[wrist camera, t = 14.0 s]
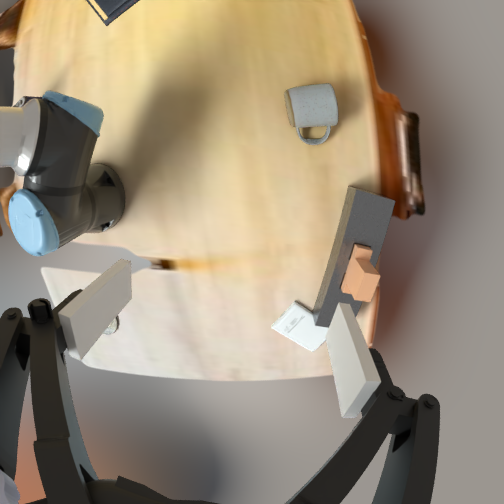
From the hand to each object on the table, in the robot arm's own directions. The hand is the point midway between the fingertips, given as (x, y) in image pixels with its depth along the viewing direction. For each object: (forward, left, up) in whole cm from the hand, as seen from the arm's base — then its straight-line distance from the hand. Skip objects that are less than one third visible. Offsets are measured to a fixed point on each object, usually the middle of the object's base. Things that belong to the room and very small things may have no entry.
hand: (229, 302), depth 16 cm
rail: (+20, -8, -37) cm, 43 cm away
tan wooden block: (+20, -8, -36) cm, 42 cm away
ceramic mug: (+6, +17, -37) cm, 41 cm away
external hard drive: (+15, -26, -37) cm, 48 cm away
